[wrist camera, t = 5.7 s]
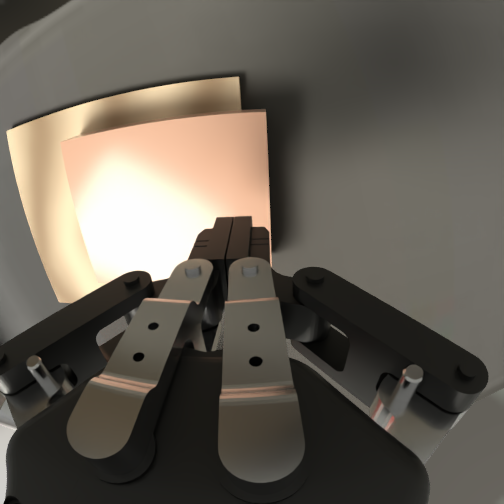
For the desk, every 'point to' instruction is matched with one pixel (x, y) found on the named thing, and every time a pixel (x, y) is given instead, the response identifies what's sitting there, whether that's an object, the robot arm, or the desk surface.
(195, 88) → the gold metal plate
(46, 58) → the desk surface
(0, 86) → the desk surface
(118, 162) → the tile
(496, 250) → the desk surface
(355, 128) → the desk surface
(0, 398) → the house model
